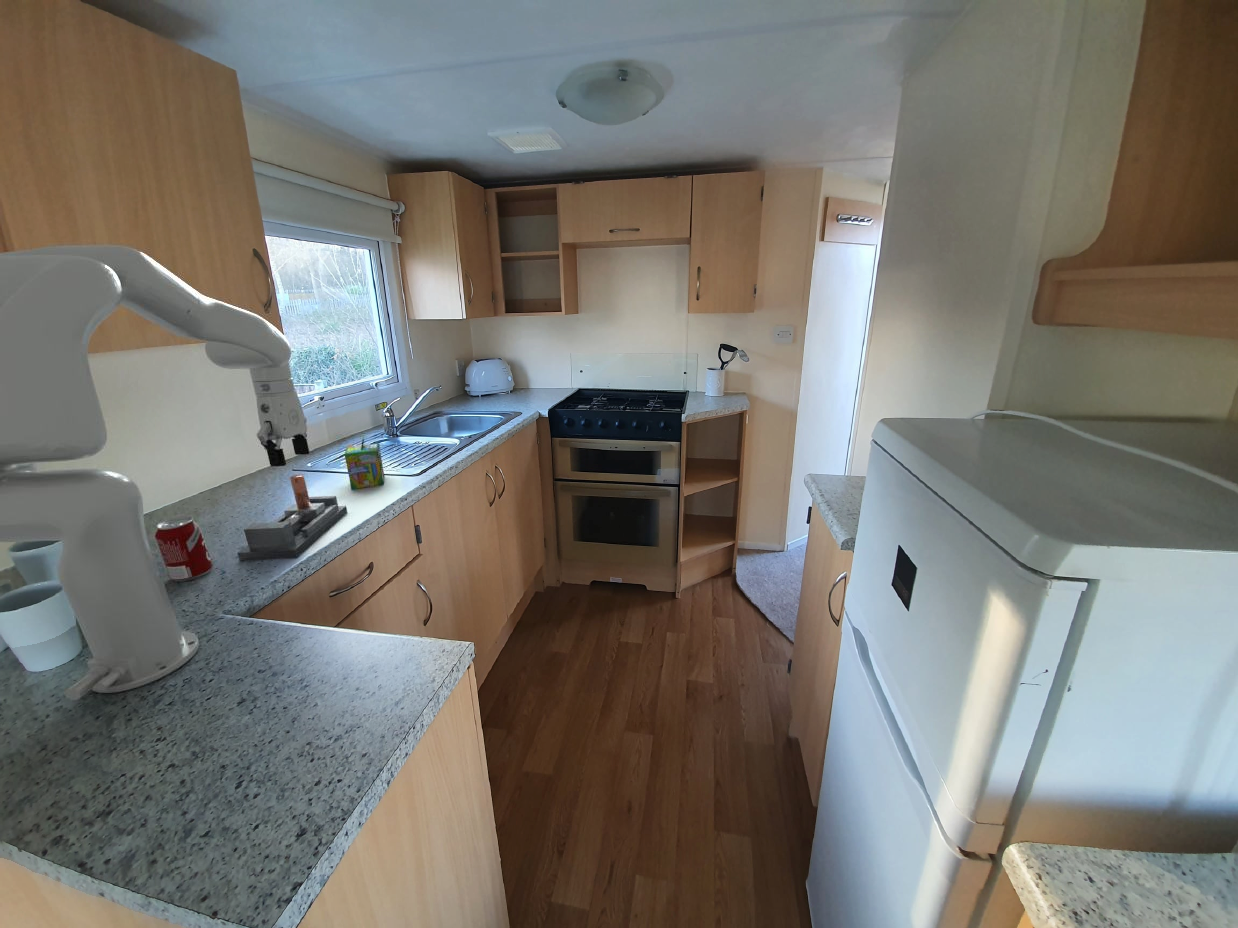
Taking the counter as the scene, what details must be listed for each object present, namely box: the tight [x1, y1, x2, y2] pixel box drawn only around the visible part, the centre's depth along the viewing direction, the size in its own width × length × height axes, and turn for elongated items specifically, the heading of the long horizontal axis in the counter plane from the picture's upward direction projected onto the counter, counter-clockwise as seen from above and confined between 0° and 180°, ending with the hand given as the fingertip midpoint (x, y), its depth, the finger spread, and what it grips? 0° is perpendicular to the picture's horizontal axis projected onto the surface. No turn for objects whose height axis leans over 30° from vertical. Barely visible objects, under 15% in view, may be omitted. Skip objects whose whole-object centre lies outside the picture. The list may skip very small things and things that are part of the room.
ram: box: [283, 474, 325, 528], centre depth 115 cm, size 10×7×11 cm
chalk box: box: [344, 435, 385, 490], centre depth 147 cm, size 9×9×15 cm
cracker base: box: [237, 495, 348, 562], centre depth 115 cm, size 24×12×7 cm, turn 4°
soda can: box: [154, 516, 213, 582], centre depth 98 cm, size 7×7×12 cm
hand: (291, 459), depth 114 cm, fingers open, 9 cm apart
